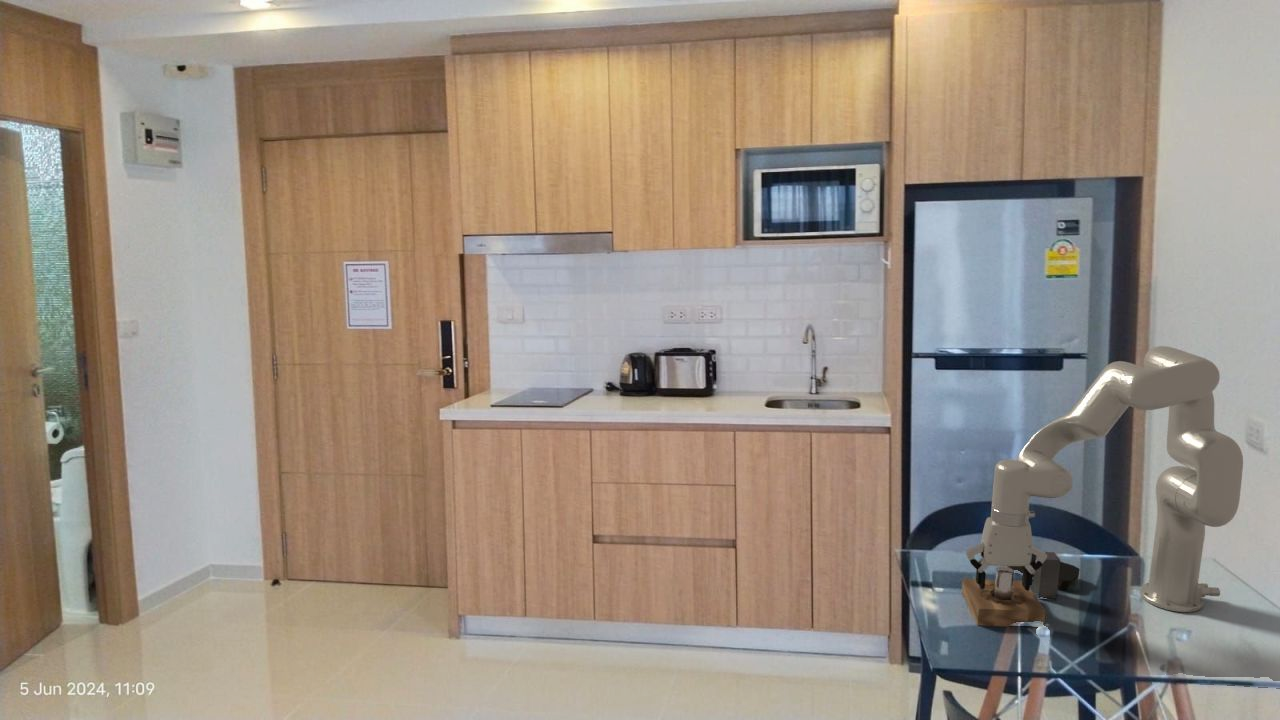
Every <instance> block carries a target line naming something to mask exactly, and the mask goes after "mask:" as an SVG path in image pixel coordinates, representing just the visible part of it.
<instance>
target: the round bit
mask: <svg viewBox="0 0 1280 720" xmlns="http://www.w3.org/2000/svg"><path fill="white" fill-rule="evenodd" d="M994 580H995V591H994V597H995V598H998V599H1000V600H1011V596H1012V585H1013V580H1014V570H1013V569H1011V568H1009V567H1005V566H997V567H996V570H995V579H994Z"/></svg>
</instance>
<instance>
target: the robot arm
mask: <svg viewBox="0 0 1280 720" xmlns="http://www.w3.org/2000/svg"><path fill="white" fill-rule="evenodd" d="M1219 382H1220V370H1219V368H1218V367H1217V366H1216V365H1215V363H1214V362H1213V361H1211V360H1209V359H1207V358H1205V357H1203V356H1199V355H1195V354H1192V353H1189V352H1187V351H1183V350H1181V349H1178V348H1175V347H1172V346H1165V345H1161V346H1160V345H1159V346H1155V347H1153V348H1149V350H1148V351H1146V353H1145V355H1144V358H1143V366H1140V365H1138V364H1136V363H1132V362H1127V361H1123V360H1118V361H1113V362H1111V363H1109V364H1108V365H1106V366H1105V367H1103V369H1102V371H1100V373H1099V374H1098V376H1097V377H1096V378H1095V379H1094V381H1093V382H1092V383H1091V384H1090V385H1089V386H1088V388H1087V390H1086V391H1085V392H1084V394H1083V395H1082V396H1081V398H1079V400H1078V401H1077V402H1076V404H1075V405H1074V406H1073V408H1072V409H1071V410H1070V411H1069V412H1068V413H1066V414H1065V415H1063V416H1060V417H1059V418H1057V419H1055V420H1054V421H1051V422H1050V423H1048V424H1047V425H1045V426H1043V427H1042V428H1040V429H1039V430H1038V431H1036V432H1035V433H1034V434H1033V435H1032V436H1031V438H1030V439H1029V441H1027V442H1026V444H1025V445H1024V446H1023V448H1022V449H1021V450H1020V452H1019V454H1018V456H1017V457H1016V459H1002V460H1000V461H997V463H995V466H994V472H993V485H992V496H991V497H992V499H991V512H990V516H989V517H986V520H985V522H984V525H983V526H984V527H983V529H982V535H981V541H980V543H979V544H978V545H975V546H973V547H971V548H969V549H966V550H965V552H964V553H965V554H966V557H967V559H968V562H970V564H971V565H972V566H973V568H974V569H975V570H976V572H975V579H976V583H977V584H979V586H980V588H981V589H984V588H985V580H986V577H987V574H986V572H985V571H986V569H987V568H988V567H989V566H993V567H994V566H997V567H1000V566H1004V567H1005V566H1025V568H1024V569H1023V576H1021V577H1022V578H1021V581H1022V585H1023V587H1024V588H1025V590H1027V591H1029V589H1031V586H1033V580H1032V578H1033V574H1035V571H1036V570H1037V569H1039V568H1040V567H1041V566H1042V563H1044V561H1045V560H1046V558H1047V555H1046V553H1045V552H1046V551H1043V550H1041V549H1038V548H1037V547H1035V546H1033V537H1032V536H1033V535H1032V527H1031V526H1032V525H1031V522H1030V521H1029V519H1031V518H1035V517H1036V513H1035V511H1033V510H1030V509H1029V508H1030V499H1031V498H1030V497H1038V498H1044V499H1058V498H1062V497H1065V496H1066V495H1067V494H1069V493H1070V491H1072V488H1073V486H1074V480H1073V477H1072V475H1071V474H1072V473H1070V472H1069V471H1068V469H1066V468H1065V467H1063V466H1062V465H1061V464H1059V463H1058V462H1056V461H1055V460H1054V458H1055V457H1056V455H1058V453H1060V452H1061V450H1063V449H1064V448H1066V447H1067V446H1069V445H1071V444H1073V443H1077V442H1080V441H1088V440H1096V439H1101V438H1104V437H1106V436H1107V435H1108V434H1109V432H1110V430H1111V429H1112V428H1113V427H1114V426H1115V424H1116V423H1117V422H1118V421H1119V420H1120V418H1121V417H1122V415H1124V413H1125V412H1126V410H1127V409H1128V408H1129V407H1131V408H1134V409H1137V410H1139V411H1154V410H1160V409H1165V408H1168V421H1167V431H1166V432H1167V435H1166V450H1167V454H1168V455H1169V456H1170V458H1172V459H1173V460H1174V461H1176V462H1177V463H1179V464H1181V465H1177V466H1176V465H1175V466H1170V467H1168V468H1166V469H1164V470H1163V471H1162V472H1161V473H1160V474H1159V476H1158V478H1157V481H1156V483H1155V484H1156V485H1155V497H1156V498H1155V499H1156V523H1155V524H1156V525H1155V533H1154V539H1153V540H1154V541H1153V546H1152V547H1153V548H1152V555H1151V563H1150V570H1149V571H1150V572H1149V576H1148V577H1149V579H1148V583H1143V584H1142V585H1141V587H1140V589H1139V595H1140V597H1142V599H1143V600H1145V601H1146V602H1147V603H1150V604H1151V605H1153V606H1155V607H1158V608H1161V609H1162V610H1163V609H1164V610H1165V611H1166V610H1168V611H1173V612H1177V613H1178V612H1179V613H1193V612H1198V611H1200V610H1201V609H1202V608H1203V607H1204V603H1205V602H1204V599H1203V598H1205V597H1206V596H1210V597H1219V596H1221V591H1220V590H1221V589H1220V588H1219V587H1216V586H1215V587H1209V584H1208V583H1207V582H1206V583H1203V582H1202V583H1199V578H1200V571H1201V564H1202V557H1203V551H1204V542H1205V537H1206V526H1208V527H1212V528H1218V527H1223V526H1225V525H1228V524H1229V523H1230V522H1231V521H1232V520H1233V519H1234V518H1235V515H1236V514H1237V511H1238V509H1239V506H1240V499H1241V489H1242V480H1243V479H1242V477H1243V469H1244V456H1243V453H1242V452H1243V451H1242V449H1241V447H1240V445H1239V444H1238V443H1237V442H1236V440H1235V439H1233V438H1232V437H1230V436H1228V435H1226V434H1224V433H1221V432H1219V431H1217V429H1216V428H1215V398H1214V391H1215V389H1216V388H1217V387H1218V385H1219ZM1182 465H1183V466H1182ZM1032 553H1033V554H1034V555H1036V556H1038V557H1037V559H1035V560H1034V561H1033V562H1032V563H1031V559H1032ZM978 554H980V558H979V559H978V560H977V559H976V558H975V555H978Z"/></svg>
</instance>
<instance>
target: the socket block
mask: <svg viewBox="0 0 1280 720" xmlns="http://www.w3.org/2000/svg"><path fill="white" fill-rule="evenodd" d="M995 580H996V579H985V588H984V589H981V588H980V586H979V584H977V583H976V578H975V579H974V578H963V579H962V585H961V596H962V595H963V596H962V598H963V597H964V598H965V600H966V602H967V604H968V606H969V608H968V610H969V609H970V610H969V611H970V613H971V616H972V617H973V620H974V621H975V623H976V625H977V626H987V627H1009V626H1010V625H1011V624H1013V623H1016V622H1034V621H1041V622H1044V623H1045V620H1046V610H1045V608H1044V607H1043V605H1042V604H1041V602H1040V601H1039V599H1038V598H1037V596H1036V595H1035V594H1034V592H1033V589H1031V588H1030V589H1029V591H1027V590H1025V588H1024V587H1023V585H1022V580H1015V579H1013V585H1012V596H1011V600H1000V599H998V598H995V597H994V591H995ZM964 598H963V599H964ZM965 600H964V601H965ZM966 602H965V603H966ZM967 604H966V605H967ZM968 606H967V607H968Z"/></svg>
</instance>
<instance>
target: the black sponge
mask: <svg viewBox="0 0 1280 720" xmlns="http://www.w3.org/2000/svg"><path fill="white" fill-rule="evenodd" d="M1035 559H1036V555H1034V554H1033V553H1032V559H1031V563H1032V562H1033V561H1034V560H1035ZM1006 567H1009V568H1011V569H1013V570H1018V571H1020V572H1021V573H1023V569H1024V568H1025V566H1006ZM1079 575H1080V568H1079V567H1077V566H1075V565H1073V564H1069V563H1066V562H1063V561H1061V560H1060V569H1059V579H1058V588H1057V590H1061V591H1065V590H1067V589H1069V588H1070V587H1071V585H1073V583H1075V581H1078V579H1079ZM1033 578H1034V574H1033Z"/></svg>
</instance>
